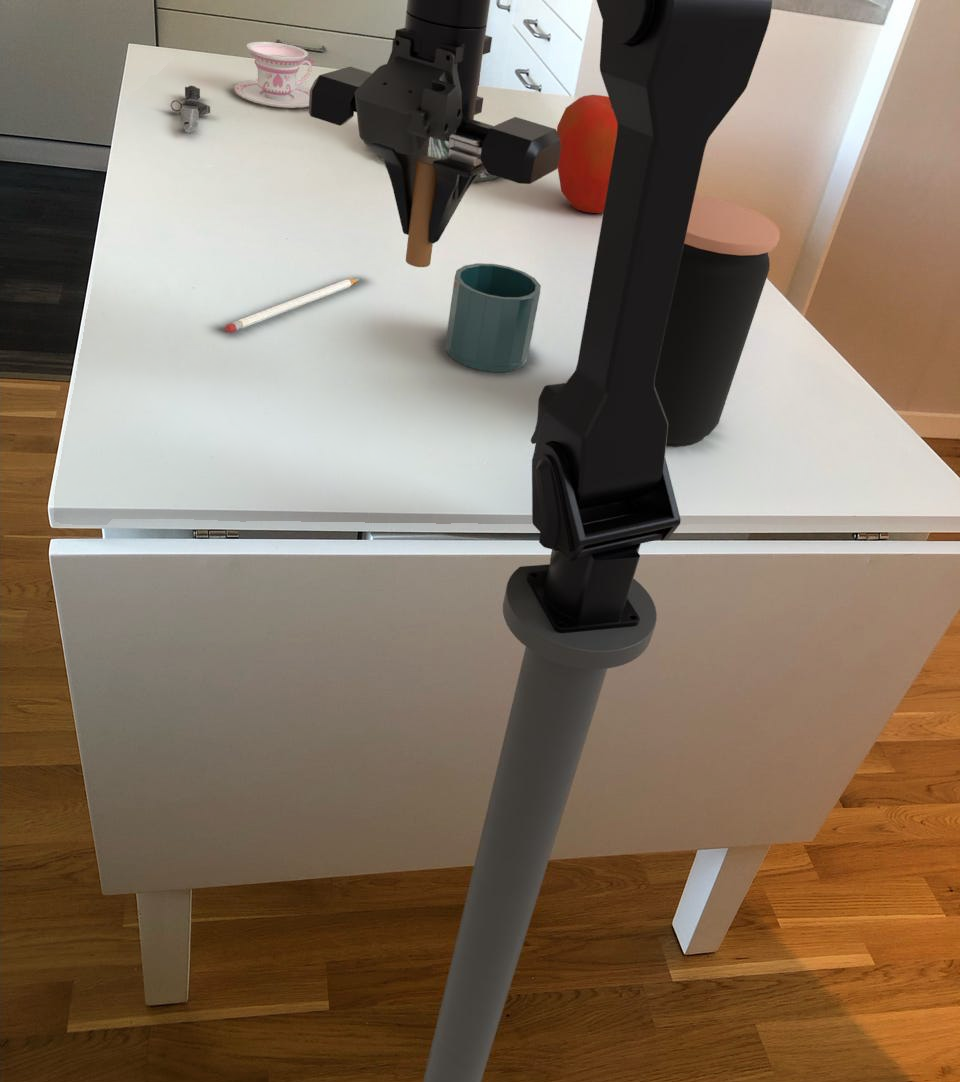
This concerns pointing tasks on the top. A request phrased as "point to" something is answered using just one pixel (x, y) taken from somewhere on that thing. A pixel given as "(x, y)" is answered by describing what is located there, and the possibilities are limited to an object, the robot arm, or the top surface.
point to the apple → (587, 151)
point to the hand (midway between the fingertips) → (420, 237)
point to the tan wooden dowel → (421, 213)
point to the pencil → (289, 305)
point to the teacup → (276, 76)
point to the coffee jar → (711, 313)
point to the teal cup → (492, 317)
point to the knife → (191, 109)
